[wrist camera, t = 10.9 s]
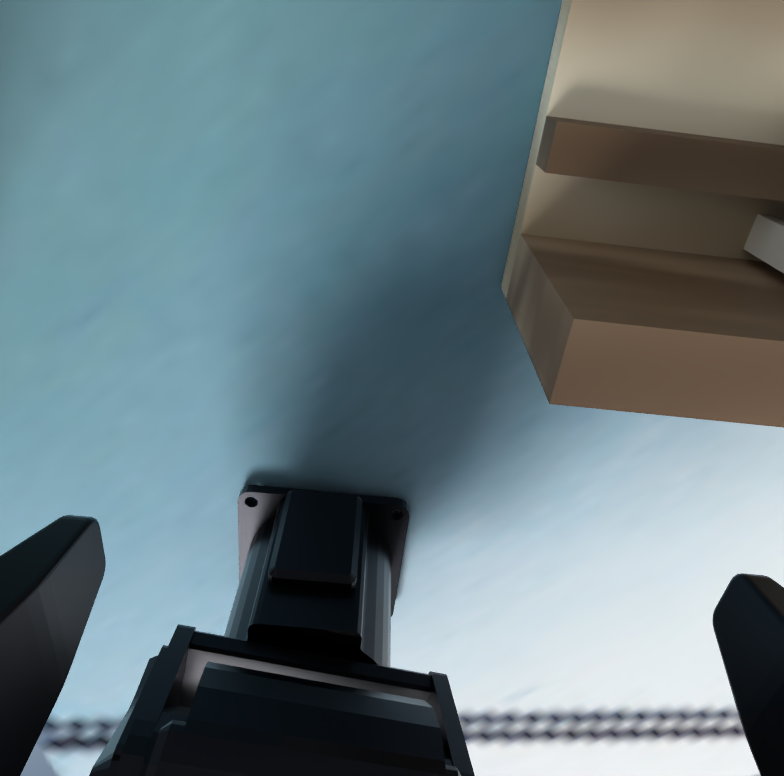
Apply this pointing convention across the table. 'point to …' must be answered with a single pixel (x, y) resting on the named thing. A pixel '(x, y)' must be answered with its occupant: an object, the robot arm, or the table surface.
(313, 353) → the table surface
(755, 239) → the white knobbed block
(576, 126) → the cleat board
